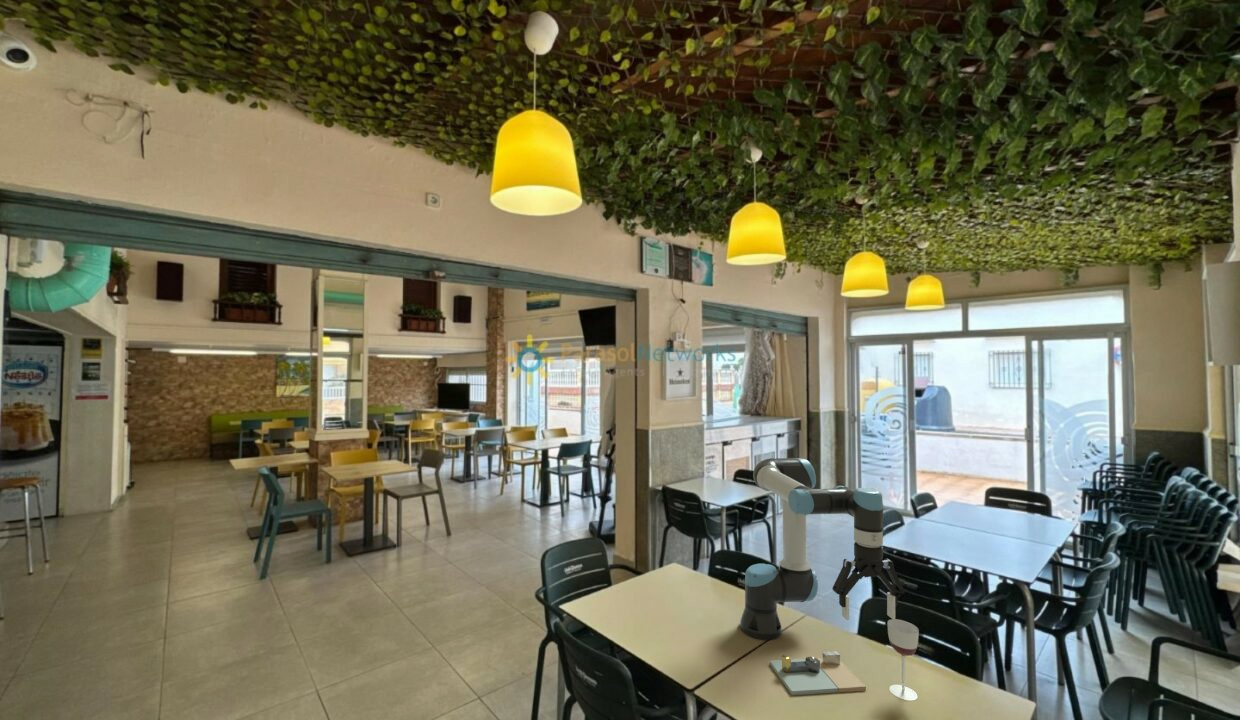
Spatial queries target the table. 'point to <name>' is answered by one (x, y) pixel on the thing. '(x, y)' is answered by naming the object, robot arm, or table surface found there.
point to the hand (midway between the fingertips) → (868, 617)
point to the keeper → (831, 658)
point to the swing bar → (800, 665)
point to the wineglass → (903, 652)
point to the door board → (818, 679)
